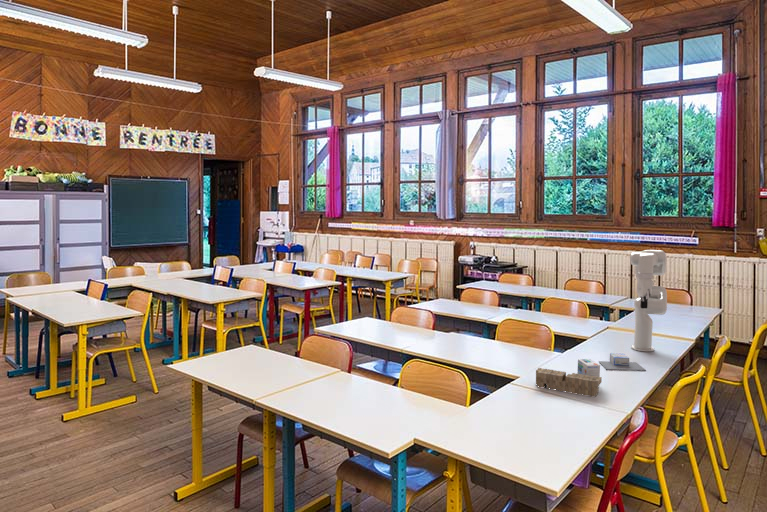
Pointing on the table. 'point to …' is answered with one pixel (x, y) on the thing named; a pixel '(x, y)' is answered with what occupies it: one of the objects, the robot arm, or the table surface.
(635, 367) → the mat
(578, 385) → the brown segmented bar
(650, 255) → the robot arm
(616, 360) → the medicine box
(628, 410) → the table surface
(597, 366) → the light bulb box
